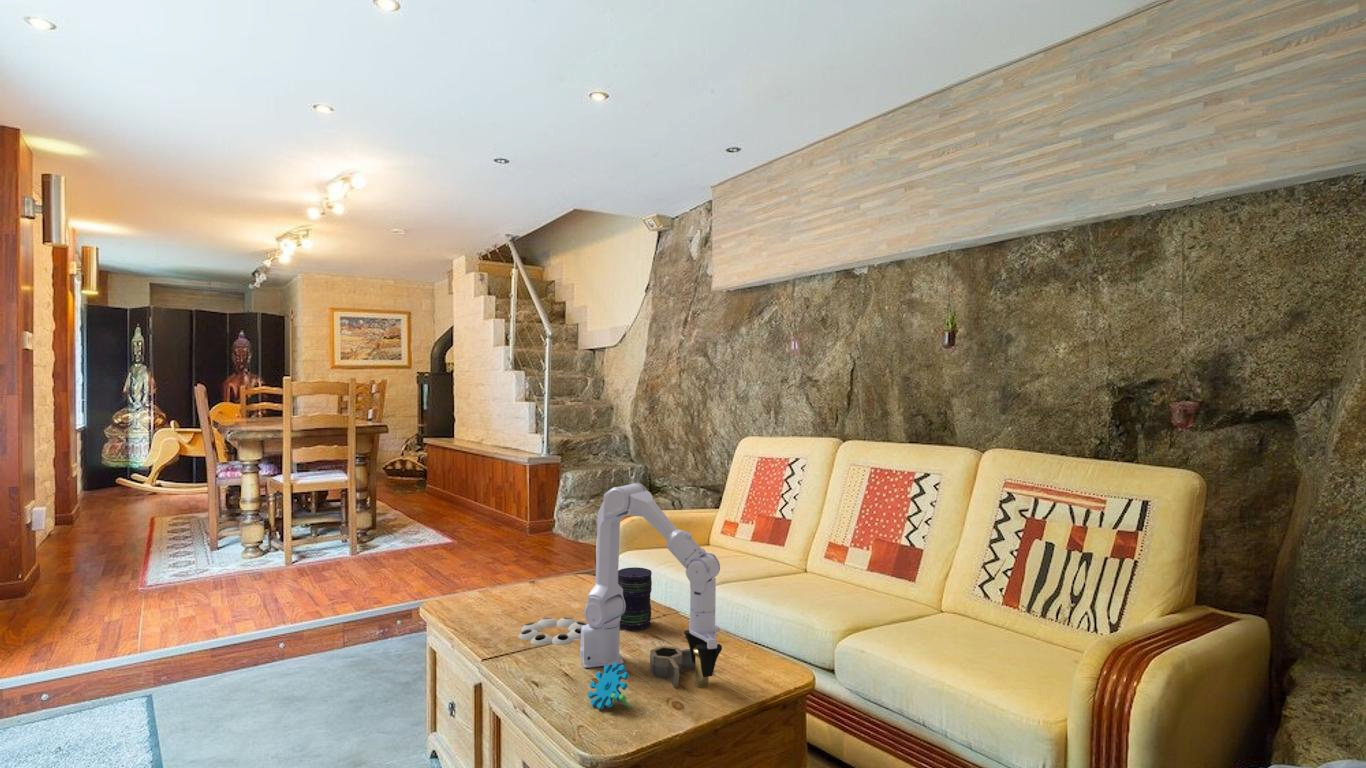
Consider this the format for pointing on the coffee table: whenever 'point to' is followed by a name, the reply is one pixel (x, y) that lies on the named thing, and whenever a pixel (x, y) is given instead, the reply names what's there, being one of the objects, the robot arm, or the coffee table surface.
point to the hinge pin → (699, 672)
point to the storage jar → (635, 598)
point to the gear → (609, 687)
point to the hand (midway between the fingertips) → (702, 669)
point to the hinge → (670, 663)
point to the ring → (547, 623)
